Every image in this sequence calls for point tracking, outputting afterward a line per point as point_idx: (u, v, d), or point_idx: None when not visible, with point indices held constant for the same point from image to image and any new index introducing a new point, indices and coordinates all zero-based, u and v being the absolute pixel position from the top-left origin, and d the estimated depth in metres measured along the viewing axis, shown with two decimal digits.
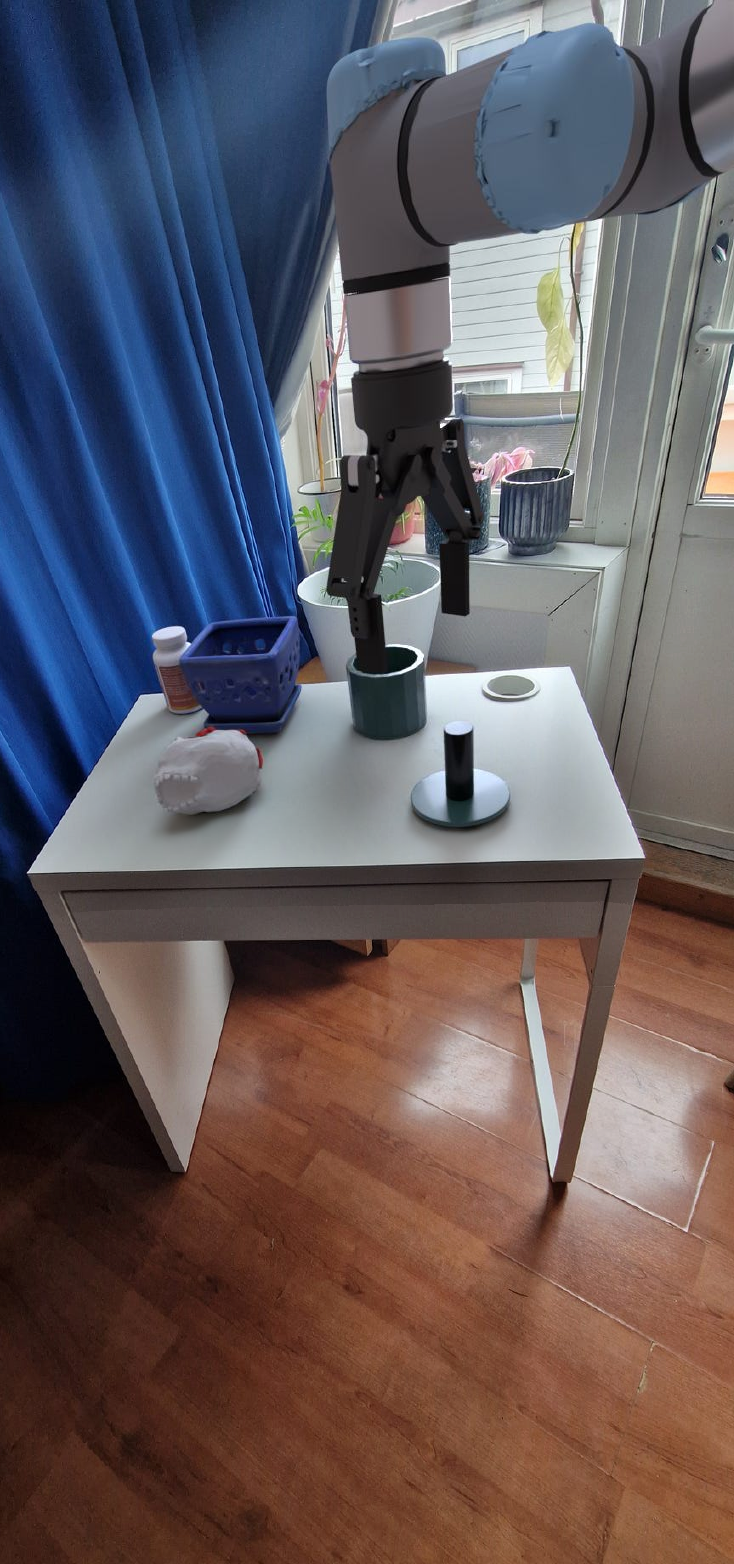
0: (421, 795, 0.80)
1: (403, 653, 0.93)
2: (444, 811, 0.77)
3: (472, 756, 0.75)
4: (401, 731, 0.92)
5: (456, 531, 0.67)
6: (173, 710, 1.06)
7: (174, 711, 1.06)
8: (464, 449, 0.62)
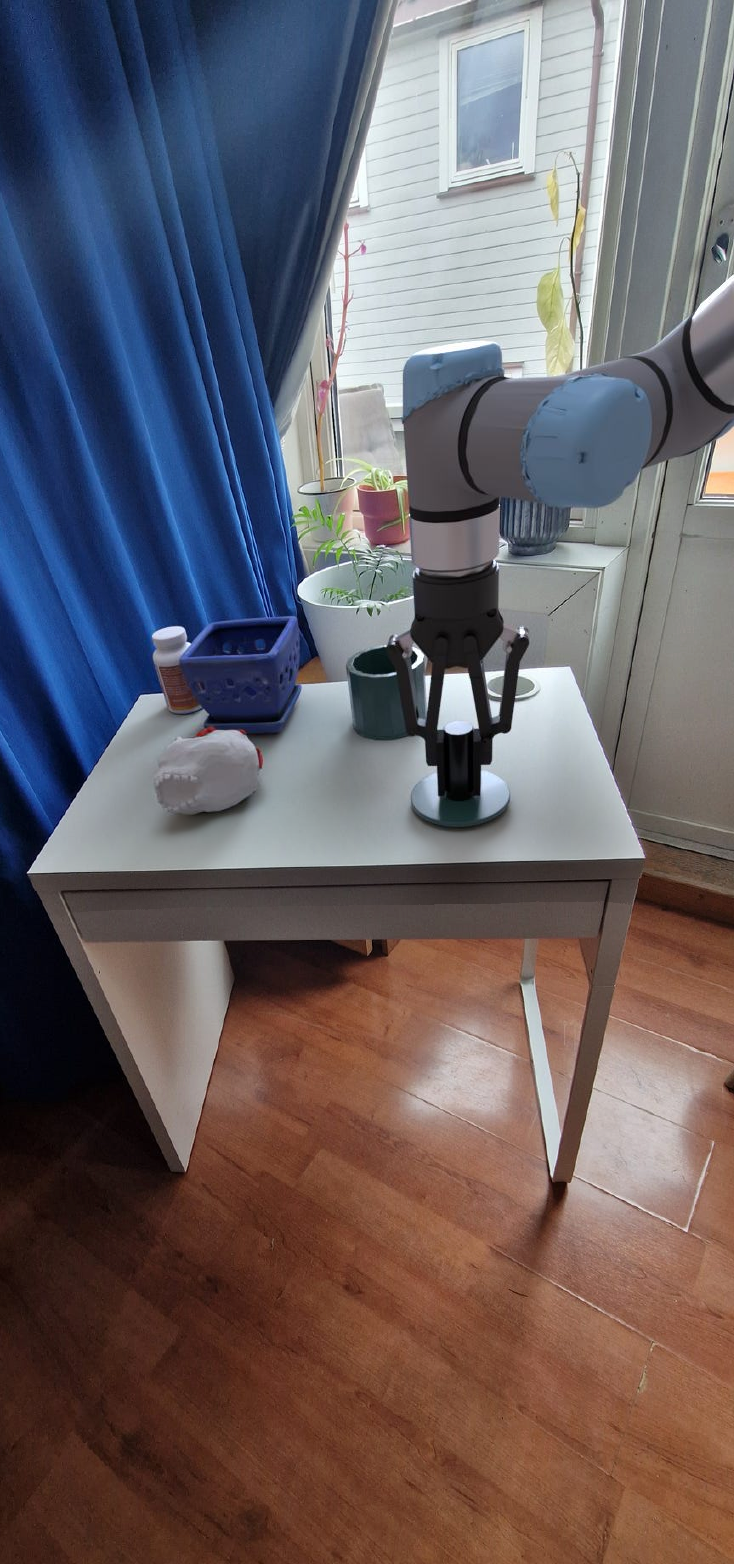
0: (421, 795, 0.80)
1: None
2: (444, 811, 0.77)
3: (472, 756, 0.75)
4: (401, 731, 0.92)
5: None
6: (173, 710, 1.06)
7: (174, 711, 1.06)
8: (517, 663, 0.67)
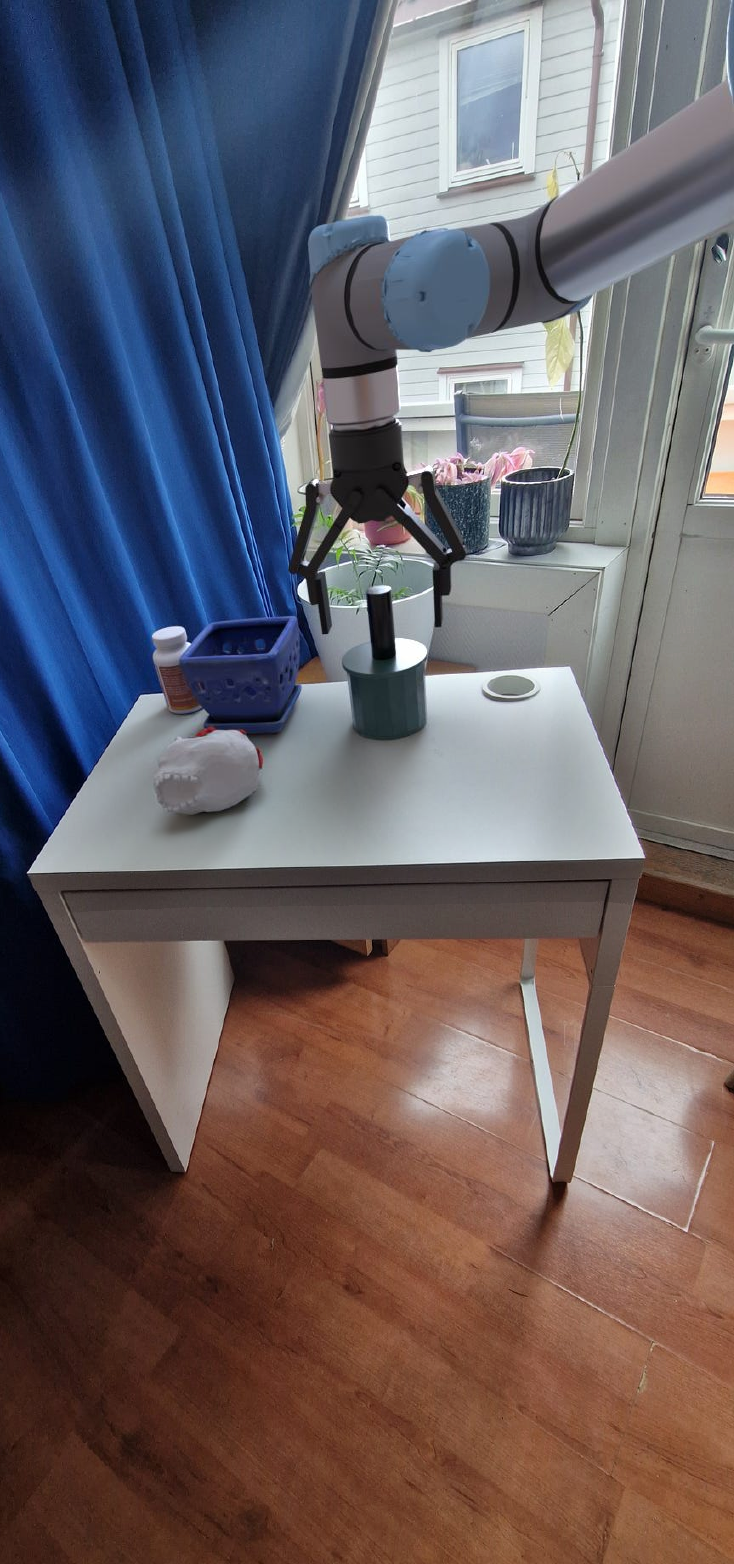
0: (350, 657, 0.91)
1: None
2: (368, 667, 0.88)
3: (391, 616, 0.87)
4: (401, 731, 0.92)
5: None
6: (173, 710, 1.06)
7: (174, 711, 1.06)
8: (433, 495, 0.77)
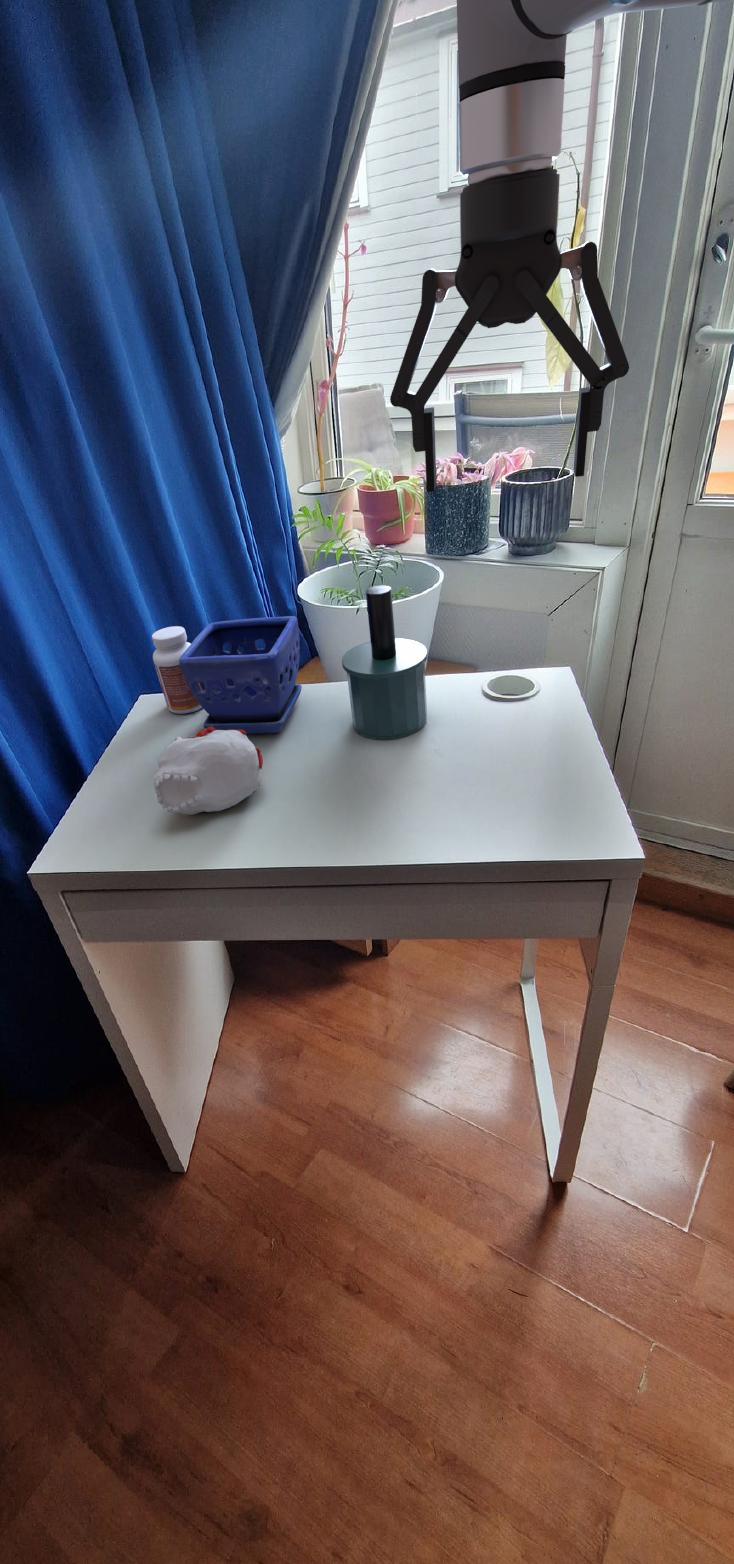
0: (350, 657, 0.91)
1: None
2: (368, 667, 0.88)
3: (391, 616, 0.87)
4: (401, 731, 0.92)
5: None
6: (173, 710, 1.06)
7: (174, 711, 1.06)
8: (595, 279, 0.58)
